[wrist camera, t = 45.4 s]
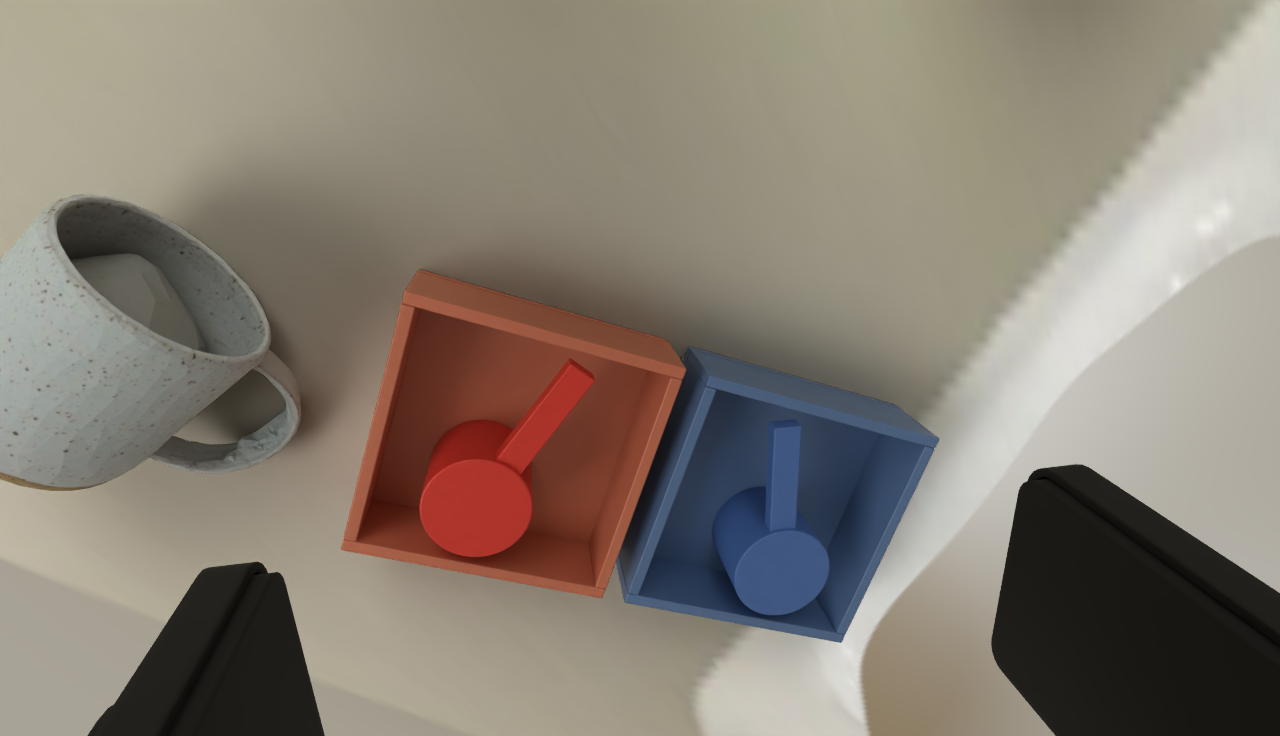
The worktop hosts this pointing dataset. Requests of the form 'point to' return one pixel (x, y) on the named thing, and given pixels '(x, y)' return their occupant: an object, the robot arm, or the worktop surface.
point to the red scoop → (493, 472)
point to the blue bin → (737, 460)
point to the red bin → (504, 392)
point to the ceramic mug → (124, 348)
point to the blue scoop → (772, 534)
